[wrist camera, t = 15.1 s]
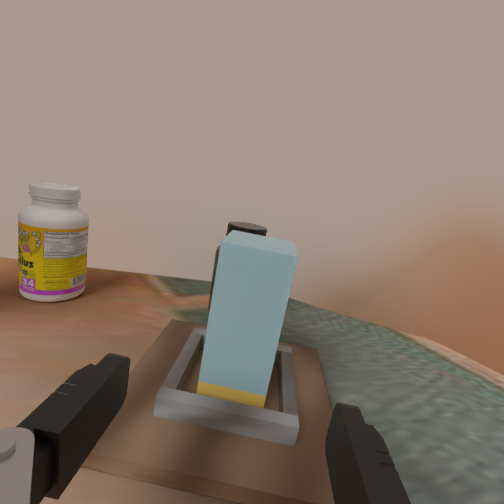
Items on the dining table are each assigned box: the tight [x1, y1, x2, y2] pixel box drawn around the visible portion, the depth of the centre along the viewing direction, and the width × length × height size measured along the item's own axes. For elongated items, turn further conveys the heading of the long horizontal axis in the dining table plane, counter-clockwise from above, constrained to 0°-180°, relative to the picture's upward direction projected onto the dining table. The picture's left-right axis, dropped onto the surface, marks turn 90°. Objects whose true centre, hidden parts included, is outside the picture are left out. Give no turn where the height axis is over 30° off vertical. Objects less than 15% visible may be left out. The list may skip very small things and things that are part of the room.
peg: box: [196, 230, 298, 408], centre depth 22 cm, size 5×5×12 cm
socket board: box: [81, 319, 335, 504], centre depth 24 cm, size 16×16×3 cm
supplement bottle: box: [18, 182, 89, 302], centre depth 34 cm, size 7×7×13 cm
